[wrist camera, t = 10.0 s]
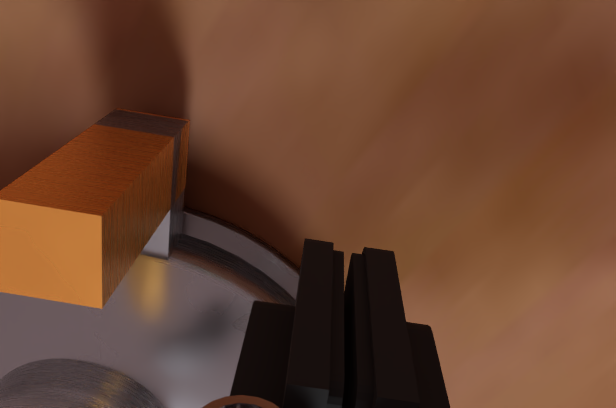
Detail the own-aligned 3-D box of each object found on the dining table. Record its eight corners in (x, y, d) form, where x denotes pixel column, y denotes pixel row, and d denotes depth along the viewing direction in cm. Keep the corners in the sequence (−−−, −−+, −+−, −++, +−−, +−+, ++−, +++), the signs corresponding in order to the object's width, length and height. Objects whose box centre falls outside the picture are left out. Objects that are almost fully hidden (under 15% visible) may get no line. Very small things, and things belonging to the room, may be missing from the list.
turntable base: (-86, 164, 18) (-95, 168, 17) (398, 237, 18) (399, 244, 17) (-30, 498, 24) (-36, 506, 24) (326, 555, 24) (326, 564, 24)
